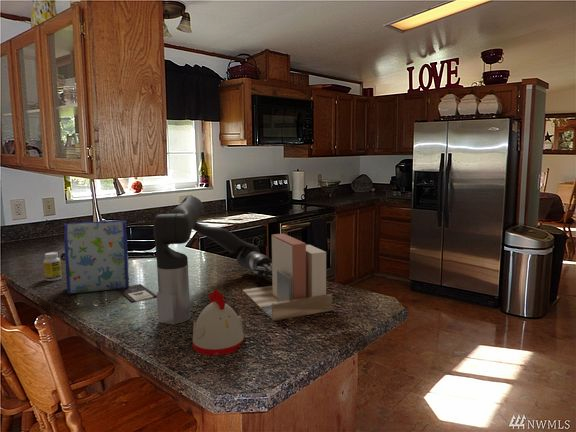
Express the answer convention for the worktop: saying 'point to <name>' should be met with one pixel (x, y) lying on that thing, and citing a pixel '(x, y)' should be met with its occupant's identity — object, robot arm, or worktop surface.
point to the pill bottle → (52, 267)
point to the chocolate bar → (137, 293)
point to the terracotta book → (289, 263)
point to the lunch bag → (96, 256)
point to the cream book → (315, 271)
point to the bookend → (280, 291)
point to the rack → (289, 303)
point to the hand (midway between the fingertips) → (278, 275)
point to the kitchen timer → (217, 328)
